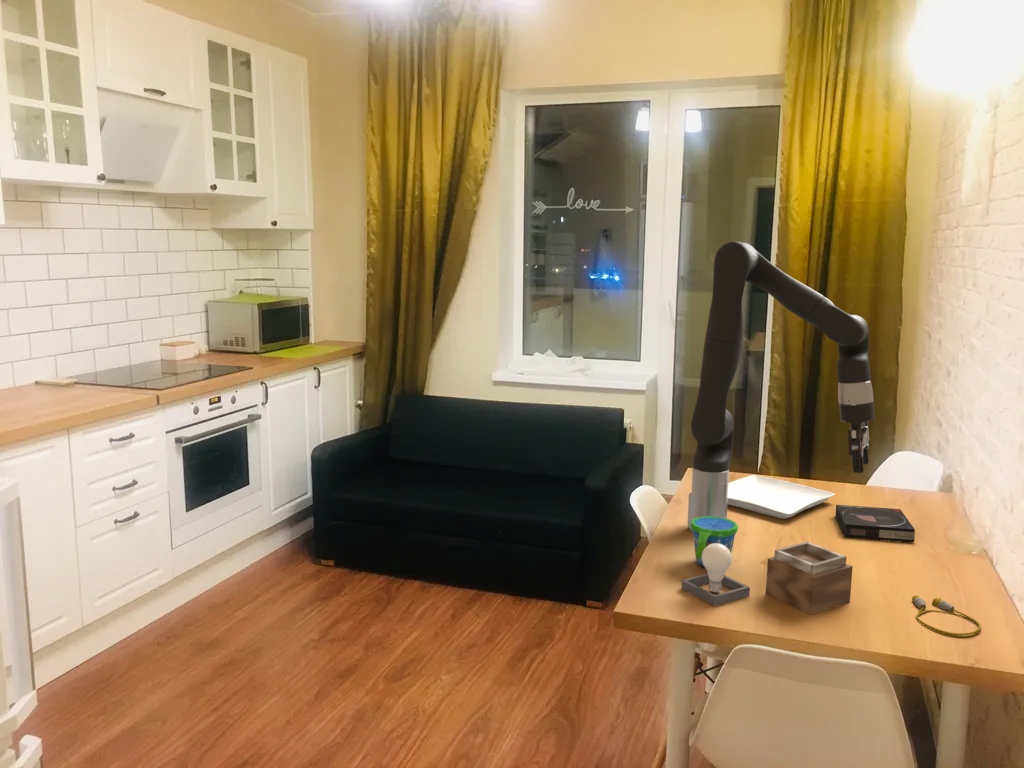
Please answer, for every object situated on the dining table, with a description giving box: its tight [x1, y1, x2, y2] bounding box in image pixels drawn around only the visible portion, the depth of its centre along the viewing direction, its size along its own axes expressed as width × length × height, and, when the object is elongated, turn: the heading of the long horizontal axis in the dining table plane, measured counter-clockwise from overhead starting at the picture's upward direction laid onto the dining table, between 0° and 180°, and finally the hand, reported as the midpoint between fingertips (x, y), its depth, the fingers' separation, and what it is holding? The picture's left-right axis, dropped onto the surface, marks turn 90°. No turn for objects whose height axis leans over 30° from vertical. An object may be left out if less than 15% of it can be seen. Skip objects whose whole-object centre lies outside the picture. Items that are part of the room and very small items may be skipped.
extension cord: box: [911, 594, 982, 638], centre depth 163 cm, size 12×16×2 cm
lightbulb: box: [702, 543, 733, 594], centre depth 174 cm, size 6×6×11 cm
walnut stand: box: [765, 541, 853, 616], centre depth 172 cm, size 12×12×10 cm
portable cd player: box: [834, 504, 916, 543], centre depth 214 cm, size 16×17×4 cm
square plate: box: [727, 474, 835, 520], centre depth 237 cm, size 27×27×4 cm
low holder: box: [680, 572, 751, 607], centre depth 175 cm, size 10×10×2 cm
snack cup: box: [691, 516, 739, 568], centre depth 190 cm, size 16×10×10 cm
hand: (861, 468), depth 191 cm, fingers open, 8 cm apart
